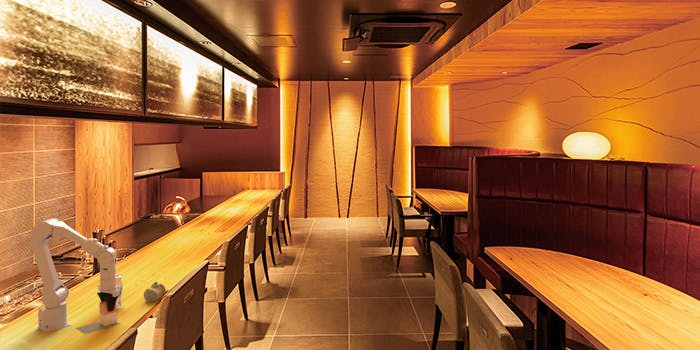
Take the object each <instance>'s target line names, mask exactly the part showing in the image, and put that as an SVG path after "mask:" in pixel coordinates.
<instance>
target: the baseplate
mask: <svg viewBox="0 0 700 350" xmlns="http://www.w3.org/2000/svg"><path fill="white" fill-rule="evenodd" d="M119 325H121V323H120V322H118V321H117V323H114V324H110V325H107V326H103V325H102V324H100V321H96V322H93V323H90V324H86V325H82V326H78V327H76V328H75V329H76V330H78V331H79V332H80V333H82V334H84V335H86V334H91V333H94V332H99V331H101V330H104V329H108V328H111V327H115V326H119Z"/></svg>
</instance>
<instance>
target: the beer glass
mask: <svg viewBox="0 0 700 350" xmlns="http://www.w3.org/2000/svg"><path fill="white" fill-rule="evenodd" d="M116 286H119V288H117V291H118V292H119V297H118V299H117V301H116V310H119V309H122V308H123V305H122V294H123V289H124V280H123V274H121V273H116Z"/></svg>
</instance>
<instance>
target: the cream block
mask: <svg viewBox="0 0 700 350" xmlns="http://www.w3.org/2000/svg"><path fill="white" fill-rule="evenodd" d="M99 322H100V324H102V325H103V326H107V325H110V324H114V323H117V322H118V313H117V311H116V312H115V313H111V314H108V315H102V314H100V313H99Z"/></svg>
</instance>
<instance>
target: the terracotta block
mask: <svg viewBox="0 0 700 350" xmlns="http://www.w3.org/2000/svg"><path fill="white" fill-rule="evenodd" d="M98 302H99V301H98ZM115 312H117V309H116V304H115V308H114V311H111V312H108V310H107V304H106V301H103V302H101V301H100V302H99V315H100V314H102V315H108V314H111V313H115Z"/></svg>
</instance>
